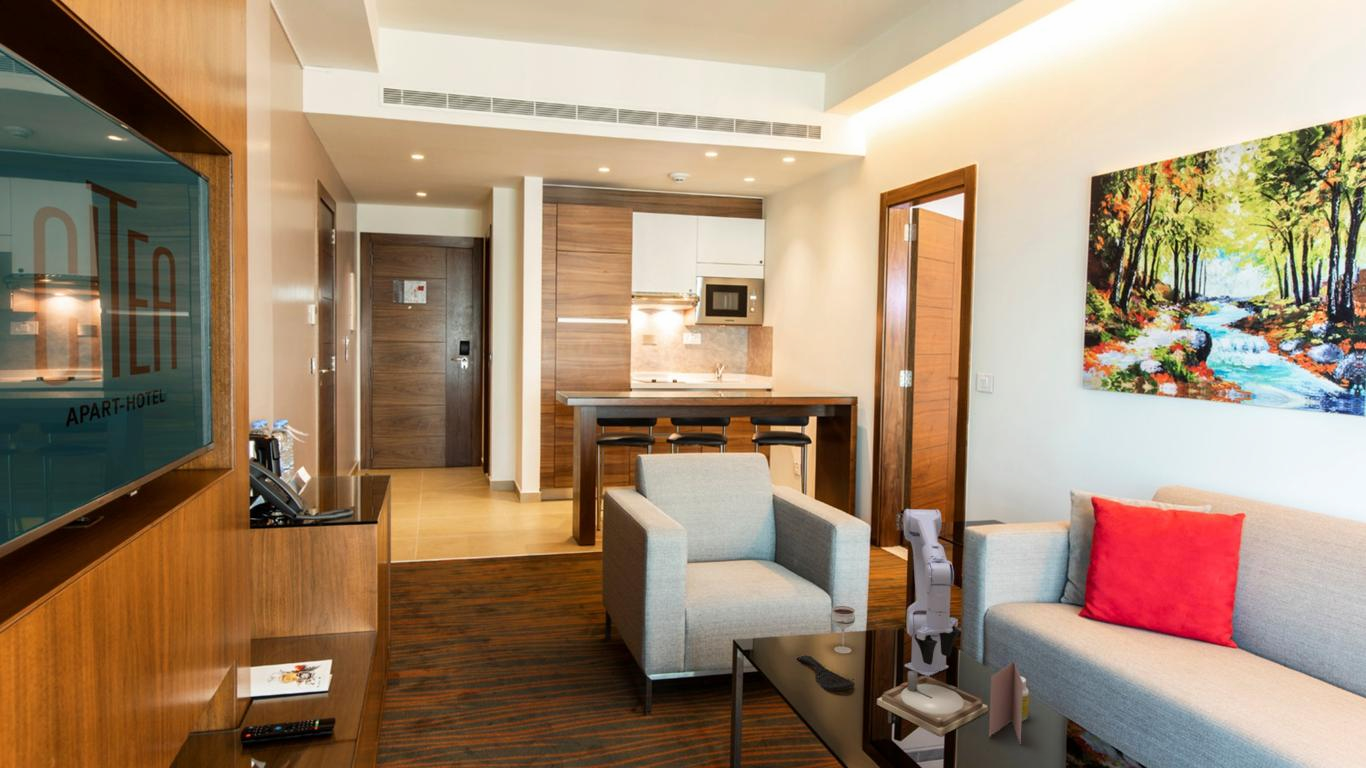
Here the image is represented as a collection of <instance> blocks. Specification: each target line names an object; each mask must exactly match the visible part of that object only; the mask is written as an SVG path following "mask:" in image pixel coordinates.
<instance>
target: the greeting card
mask: <svg viewBox="0 0 1366 768" xmlns="http://www.w3.org/2000/svg"><path fill="white" fill-rule="evenodd" d="M1020 676H1021V675H1020V672H1019V670H1018V667H1017V665H1016V662H1015V661H1013V662H1012V663H1010V664H1008V665H1007V666H1005V667H1004V668H1002V669H1001V670H999V671H998V672H996V673H995V674H993V675H991V676H990V677H991V679H990V700H989V701H990V702H989V703H990V705H989V728H988V729H989V731H988V738H989V737H990V736H991V735H992V734H994V733H995V732H997V731H998V730H999V731H1001V730H1002V729H1003V728H1004V727H1003V726H1005V725H1006V724H1007V723H1008V722H1009V721H1011V720H1012V721H1013V722H1012V721H1011V722H1012V724H1014V725H1013V727H1015V728H1014V731H1015V730H1016V731H1015V734H1016V733H1017V734H1016V737H1017V736H1018V737H1017V739H1018V738H1019V740H1018V742H1019V741H1020V743H1019V745H1020V744H1022V722H1023V721H1022V697H1023V682H1022V679H1021V677H1022V676H1021V677H1020ZM1007 725H1008V724H1007ZM1007 725H1006V726H1007ZM1006 726H1005V727H1006ZM1002 727H1003V728H1002ZM1001 728H1002V729H1001ZM1000 729H1001V730H1000ZM999 731H998V732H999ZM998 732H997V733H998ZM995 734H996V733H995ZM995 734H994V735H995ZM991 737H992V736H991ZM991 737H990V738H991Z"/></svg>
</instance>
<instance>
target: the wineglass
mask: <svg viewBox="0 0 1366 768" xmlns="http://www.w3.org/2000/svg"><path fill="white" fill-rule="evenodd" d="M831 611H832V613H831V619H832V623H834V625H835V626H837V627H838V628H840V629H841V646H840V645H839V646H836V647H834V649H833V650H834V651H835V652H836V653H839V654H849V653H851V652H852V648H850V647H848V646H845V630H846V629H847V628H850V627H851V626H852V625H854V623H855V621H856V615H855V613H856V609H854V607H851V606H847V605H846V606H845V605H838V606H836V605H835V606H834V607H832V608H831Z"/></svg>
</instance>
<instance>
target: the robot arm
mask: <svg viewBox="0 0 1366 768" xmlns="http://www.w3.org/2000/svg"><path fill="white" fill-rule="evenodd" d="M902 519H903V521H902V522H903V523H902V524H903V536H904V539H905V540H906V541H908V542H910V544H911V548H912V554H913V570H914V571H913V572H914V574H913V575H914V585H915V586H914V587H915V601H914V602H913V603H912V604H910V605H909V606H908V607H907V609H906V632H907V635H908V636H909V637H911V659H910V660H911V662H908V663H905V664H904V668H907V669H909V670H910V671H915V672H917V673H918V674H920V675H921V676H926V675H927V676H929V677H931V676H933V675H935V674H937V673H939V671H940V672H942V671H944V670H946V669H948V668H949V665H947V657H948V658H949V657H951V653H952V650H953V647H954V644H955V641H956V640H957V638H958V637H959V635H960V632H961V631H960V629H958V628H957V627H958V625H959V624H958V623H959V619H958V618H955V617H953V616H952V617H950V615H951V614H950V611H951V586H953V585H954V580H955V572H954V567H953V564H952V562H951V561H950V560H948V558H947V555H946V552H945V548H944V546H943V545H942V544H941V543H940V542H939V540H938V538H939V536H940V533H941V530H942V524H943V521H942V514H941V511H940V510H939V509H938V508H937V509H915V508H914V509H912V508H911V509H910V508H905V509H904V511H903V517H902ZM930 675H931V676H930Z"/></svg>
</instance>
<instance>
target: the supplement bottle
mask: <svg viewBox="0 0 1366 768" xmlns="http://www.w3.org/2000/svg"><path fill="white" fill-rule="evenodd" d="M1020 677H1021V679H1022V682H1023V697H1022V720H1023V719H1026V718H1027V717H1028V715H1029V699H1030V698H1029V697H1030V694H1029V693H1030V691H1029V688H1028V687H1027V679H1026V678H1025V677H1024V676H1021V675H1020ZM1027 719H1028V718H1027Z"/></svg>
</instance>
